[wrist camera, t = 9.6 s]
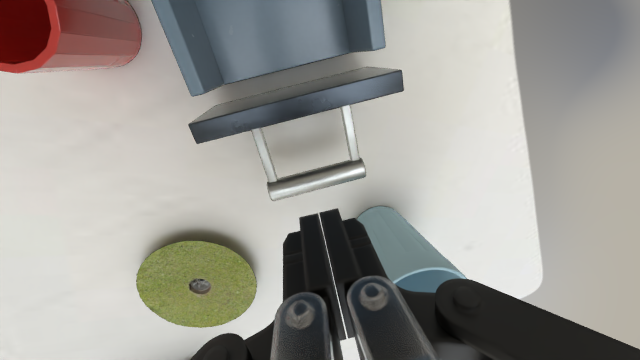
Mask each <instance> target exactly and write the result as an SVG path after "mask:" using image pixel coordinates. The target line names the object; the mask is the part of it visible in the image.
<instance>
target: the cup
mask: <svg viewBox="0 0 640 360" xmlns="http://www.w3.org/2000/svg"><path fill="white" fill-rule="evenodd" d="M357 220H358V221H359V222H361V223H362V224H363V225H364V227H365V229H366V231H367V234H368V236H369V238H370V240H371V243H372V244H373V247H374V249H375V251H376V253H377V255H378V257H379V260H380V262H381V264H382V266H383V268H384V270H385V273H386V275H387V276H388V278H389V279H390V280H391V281H392V282H393V283H394V284H395V285H397V286H398V287H401V288H403V289H405V290H409V291H415V292H433V293H436V290H437V288H438V287H439V285H440V284H442V283H443V282H445V281H447V280H450V279H456V278H462V279H467V278H466V277H465V276H464V275H463V274H462V273H461V272H460V271H459V270H458V269H457V268H456V267H455V266H454V265H453V264H452V263H451V262H450V261H448V260H447V259H446V258H445V257H444V256H443V255H442V254H441V253H439V252H438V251H437V250H436V249H435V248H434V247H433V246H432V245H431V244H430V243H429V242H428V241H427V240H426V239H425V238H424V237H423V236H422V235H421V234H420V233H419V232H418V231H417V230H416V229H415V228H414V227H412V226H411V225H410V224H409V223H408V222H407V221H406V220H405V219H404V218H403V217H402V216H401V215H400V214H399V213H398V212H396V211H395V210H394V209H392V208H390V207H384V206H378V207H373V208H370V209H368V210H366V211H365V212H363V213H362V214H361V215H360V216H359V217H358V218H357Z"/></svg>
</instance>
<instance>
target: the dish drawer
mask: <svg viewBox="0 0 640 360" xmlns="http://www.w3.org/2000/svg"><path fill="white" fill-rule="evenodd" d="M151 1H152V3H153V6H154V8H155V10H156V13H157V15H158V18H159V20H160V22H161V25H162V27H163V30H164V32H165V34H166V37H167V39H168V42H169V44H170V46H171V49H172V51H173V54H174V56H175V58H176V61H177V63H178V66H179V68H180V70H181V73H182V75H183V78H184V80H185V82H186V85H187V87H188V90H189V92H190V94H191V96H197V95H201V94H205V93H207V92H209V91H211V90H214V89H216V88H218V87H220V86H223V85H226V84H230V83H234V82H238V81H242V80H246V79H250V78H253V77H257V76H261V75H265V74H269V73H273V72H277V71H281V70H285V69H289V68H293V67H297V66H301V65H305V64H309V63H313V62H317V61H321V60H325V59H329V58H332V57H336V56H340V55H344V54H348V53H354V52H366V51H375V50H379V49H383V48H385V46H386V45H385V36H384V27H383V18H382V9H381V0H151ZM402 91H404V88H403V77H402V70H398V69H387V68H376V67H364V68H360V69H356V70H352V71H349V72H345V73H341V74H337V75H333V76H329V77H325V78H321V79H317V80H313V81H309V82H305V83H301V84H297V85H294V86H290V87H286V88H282V89H278V90H274V91H270V92H266V93H262V94H258V95H254V96H250V97H246V98H242V99H239V100H235V101H231V102H227V103H223V104H219V105H216V106H214V107H213V108H211V109H210V110H208V111H207V112H205V113H204V114H203V115H201V116H200V117H198V118H197V119H195V120H194V121H192V122H191V123H189V124H188V125H189V128H190V130H191V132H192V135H193V137H194V139H195V141H196V143H197V144H199V143H203V142H207V141H211V140H215V139H219V138H223V137H227V136H230V135H234V134H238V133H242V132H246V131H250V130H251V131H252V134H253V137H254V140H255V143H256V146H257V149H258V152H259V155H260V158H261V160H262V163H263V166H264V169H265V172H266V175H267V178H268V182H267V189H268V193H269V196H270V198H271V200H272V201H276V200H280V199H284V198H288V197H292V196H295V195H299V194H303V193H307V192H311V191H315V190H318V189H322V188H326V187H330V186H334V185H337V184H341V183H345V182H349V181H353V180H357V179H360V178H364V177H366V169H365V165H364V162H363V160H362V158H360V157H359V152H358V147H357V141H356V135H355V130H354V124H353V118H352V113H351V107H350V105H351V104H355V103H359V102H363V101H367V100H371V99H374V98H378V97H382V96H386V95H390V94H394V93H398V92H402ZM339 107H340V109H341V115H342V120H343V125H344V130H345V135H346V141H347V146H348V151H349V156H350V159H351V160H348V161H344V162H340V163H336V164H332V165H328V166H325V167H321V168H317V169H313V170H309V171H305V172H302V173H298V174H294V175H290V176H286V177H282V178H279V179H277V175H276V172H275V169H274V166H273V163H272V160H271V156H270V153H269V150H268V147H267V144H266V141H265V138H264V135H263V132H262V129H261V128H262V127H265V126H269V125H273V124H277V123H281V122H285V121H289V120H293V119H297V118H300V117H304V116H308V115H312V114H316V113H320V112H324V111H328V110H332V109H336V108H339Z"/></svg>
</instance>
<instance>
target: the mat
mask: <svg viewBox="0 0 640 360" xmlns="http://www.w3.org/2000/svg"><path fill="white" fill-rule="evenodd" d="M136 282H137V283H136V285H137V289H138V292H139V295H140V298H141V299H142V301H143V302H144V303H145V305H147V307H149V309H150V310H152V311H153V312H155V313H156V314H157V315H158V316H160V317H161V318H164V319H166V320H167V321H168V322H171V323H175V324H177V325H182V326H188V327H200V328H202V327H212V326H218V325H222V324H225V323H228V322H229V321H231V320H234V319H236V318H237V317H239V316H240V315H242V314H243V313H244V312H245V311H246V310H247V309H248V308H249V307H250V305H251V303H252V302H253V300H254V298H255V294H256V287H257V286H256V285H257V284H256V278H255V276H254V273H253V271H252V269H251V268H250V265H249V264H248V263H247V261H245V259H244V258H242V257H241V256H240V255H238V254H237V253H236V252H234V251H232V250H230V249H229V248H226V247H224V246H221V245H219V244H215V243H210V242H204V241H182V242H177V243H173V244H170V245H168V246H164V247H162V248H160V249H159V250H156V251H155V252H153V253H152V254H150V256H148V257H147V258H146V259H145V261H144V262H143V263H142V265H141V266H140V268H139V271H138V274H137V280H136Z"/></svg>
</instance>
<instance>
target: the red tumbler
mask: <svg viewBox="0 0 640 360" xmlns="http://www.w3.org/2000/svg"><path fill="white" fill-rule="evenodd" d="M140 45H141V27H140V24H139V21H138V18H137V16H136V14H135V12H134V10H133V8H132V7H131V5H130V4H129V3H128V2H127V0H0V71H4V72H11V73H35V72H54V71H72V70H90V69H108V68H113V67H120V66H123V65H125V64H127V63H129V62H130V61H131V60H133V58H134V57H135V56H136V55H137V53H138V51H139V49H140Z"/></svg>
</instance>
